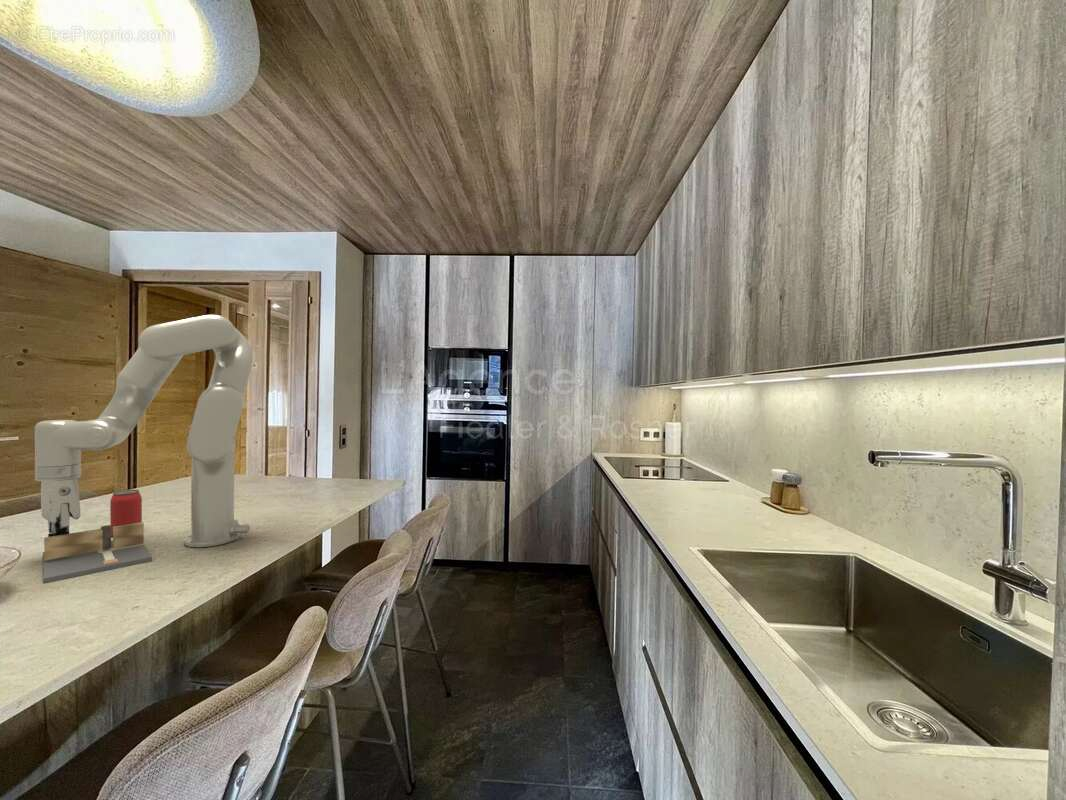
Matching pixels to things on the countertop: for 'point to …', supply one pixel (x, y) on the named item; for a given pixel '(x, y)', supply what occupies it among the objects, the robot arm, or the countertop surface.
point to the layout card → (94, 562)
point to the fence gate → (77, 543)
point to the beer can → (125, 508)
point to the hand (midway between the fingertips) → (58, 549)
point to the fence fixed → (128, 535)
